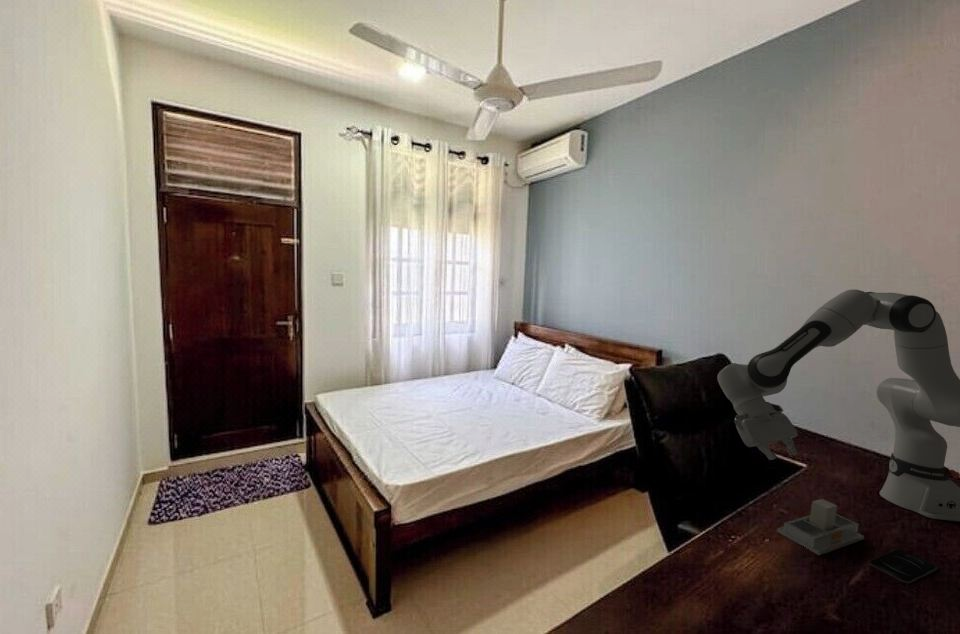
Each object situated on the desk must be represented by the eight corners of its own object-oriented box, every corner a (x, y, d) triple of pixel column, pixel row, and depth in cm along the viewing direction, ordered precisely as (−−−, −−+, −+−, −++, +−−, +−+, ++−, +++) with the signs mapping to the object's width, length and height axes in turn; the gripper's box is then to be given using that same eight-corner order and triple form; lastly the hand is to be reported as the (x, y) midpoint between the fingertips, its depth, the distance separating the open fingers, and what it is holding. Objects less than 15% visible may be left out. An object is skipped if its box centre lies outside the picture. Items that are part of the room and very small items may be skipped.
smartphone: (866, 561, 100) (898, 547, 106) (866, 565, 100) (898, 551, 106) (908, 583, 93) (939, 567, 99) (907, 586, 93) (938, 570, 99)
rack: (820, 518, 118) (822, 506, 118) (863, 539, 109) (865, 527, 109) (776, 531, 111) (778, 519, 110) (819, 555, 102) (821, 542, 101)
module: (818, 526, 112) (822, 498, 112) (833, 533, 109) (837, 505, 108) (808, 529, 111) (812, 501, 110) (823, 537, 107) (827, 508, 107)
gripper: (740, 411, 120) (769, 458, 112) (784, 405, 128) (814, 448, 120) (724, 420, 125) (751, 465, 117) (767, 414, 133) (796, 455, 125)
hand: (784, 456), depth 119 cm, fingers open, 8 cm apart
